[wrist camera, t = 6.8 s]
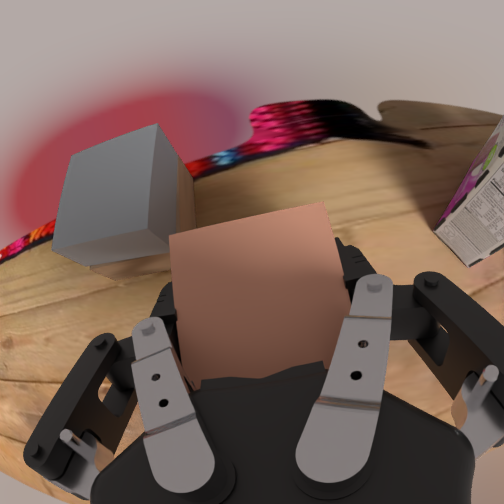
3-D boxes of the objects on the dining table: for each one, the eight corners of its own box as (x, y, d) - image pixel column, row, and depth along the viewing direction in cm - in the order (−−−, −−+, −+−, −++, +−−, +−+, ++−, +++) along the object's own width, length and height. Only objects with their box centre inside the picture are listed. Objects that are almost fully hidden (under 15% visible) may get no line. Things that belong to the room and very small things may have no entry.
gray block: (85, 266, 19) (51, 250, 16) (97, 179, 22) (71, 155, 18) (175, 251, 18) (147, 228, 15) (178, 155, 21) (157, 123, 17)
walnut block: (117, 281, 23) (89, 269, 19) (119, 202, 26) (97, 182, 22) (201, 265, 22) (181, 248, 18) (194, 180, 25) (178, 154, 21)
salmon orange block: (234, 373, 16) (187, 395, 9) (220, 280, 18) (168, 235, 11) (333, 355, 16) (363, 366, 8) (313, 261, 18) (323, 201, 10)
